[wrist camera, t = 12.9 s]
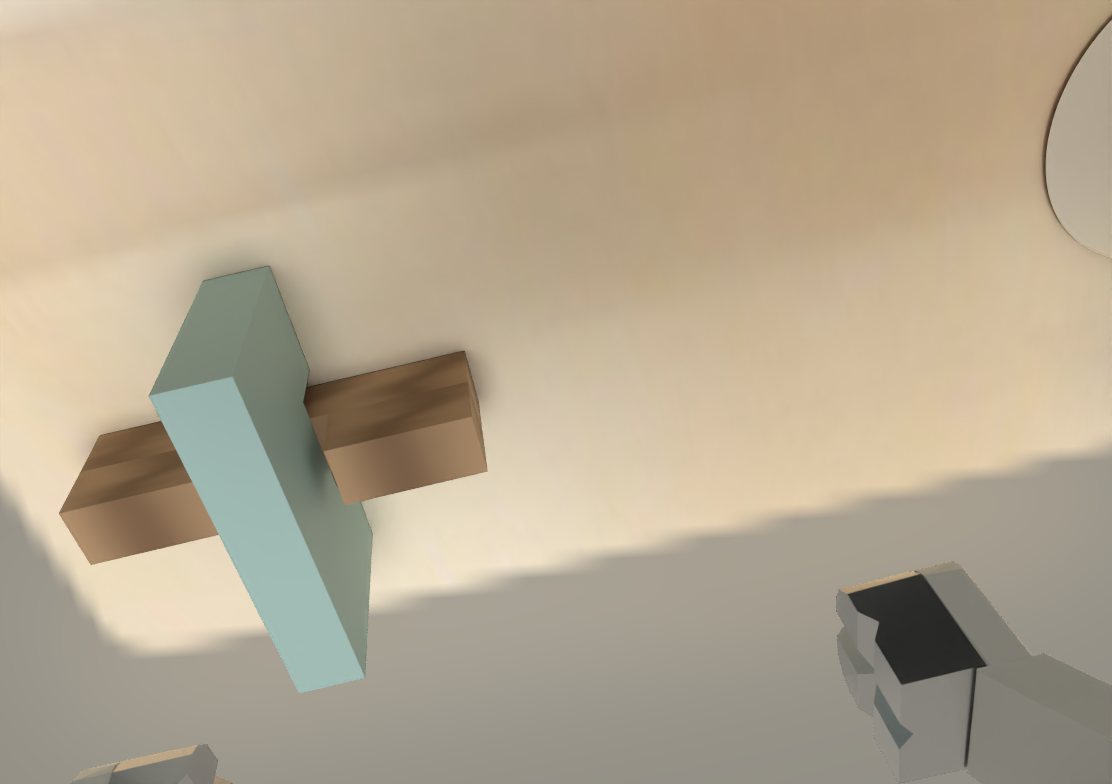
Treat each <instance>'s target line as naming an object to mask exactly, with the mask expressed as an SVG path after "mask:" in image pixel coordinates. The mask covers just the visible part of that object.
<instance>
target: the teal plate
mask: <svg viewBox="0 0 1112 784" xmlns="http://www.w3.org/2000/svg"><path fill="white" fill-rule="evenodd" d="M308 374H309V368H308V365H307V362H306V360H305V357H304V355H303V352H302V349H301V347H300V344H299V342H298V339H297V336H296V334H295V331H294V329H293V326H292V323H291V321H290V318H289V316H288V313H287V311H286V308H285V305H284V303H283V300H282V298H281V295H280V292H279V290H278V287H277V285H276V282H275V279H274V277H273V274H272V272H271V269H270V266H267V267H262V268H258V269H253V270H249V271H245V272H240V273H236V274H232V275H227V276H223V277H218V278H214V279H210V280H205V281H203V283H202V285H201V287H200V289H199V291H198V293H197V295H196V297H195V300H194V302H193V304H192V306H191V308H190V310H189V312H188V314H187V316H186V319H185V321H184V323H183V325H182V327H181V329H180V331H179V333H178V335H177V338H176V340H175V342H174V344H173V346H172V348H171V350H170V352H169V354H168V356H167V359H166V361H165V363H164V365H163V367H162V369H161V371H160V373H159V375H158V378H157V380H156V382H155V384H154V386H153V388H152V390H151V392H150V394H149V397H150V399H151V401H152V403H153V405H154V407H155V409H156V411H157V413H158V415H159V417H160V419H161V421H162V423H163V425H164V427H165V429H166V431H167V433H168V435H169V437H170V439H171V441H172V443H173V445H174V447H175V449H176V451H177V453H178V455H179V457H180V459H181V461H182V463H183V465H184V467H185V469H186V471H187V473H188V475H189V476H190V478H191V480H192V482H193V484H194V486H195V488H196V490H197V492H198V494H199V496H200V498H201V500H202V502H203V504H204V506H205V508H206V510H207V512H208V514H209V516H210V518H211V520H212V522H213V524H214V526H215V528H216V530H217V532H218V534H219V536H220V538H221V540H222V542H223V544H224V546H225V548H226V550H227V552H228V554H229V556H230V558H231V560H232V562H233V564H234V565H235V567H236V569H237V571H238V573H239V575H240V577H241V579H242V581H243V583H244V585H245V587H246V589H247V591H248V593H249V595H250V597H251V599H252V601H253V603H254V605H255V607H256V609H257V611H258V613H259V615H260V617H261V619H262V621H263V623H264V625H265V627H266V629H267V631H268V633H269V635H270V637H271V639H272V641H273V642H274V645H275V647H276V649H277V651H278V652H279V654H280V656H281V658H282V660H283V662H284V664H285V666H286V668H287V670H288V672H289V674H290V676H291V678H292V680H293V682H294V684H295V686H296V688H297V690H298V692H299V693H303V692H307V691H311V690H316V689H320V688H324V687H328V686H332V685H336V684H340V683H345V682H349V681H353V680H357V679H361V678H365V670H366V648H367V631H368V612H369V592H370V573H371V553H372V531H371V528H370V526H369V523H368V521H367V518H366V515H365V513H364V510H363V508H362V505H361V502H355V503H351V504H347V505H345V503H344V501H343V498H342V496H341V493H340V491H339V488H338V486H337V483H336V481H335V478H334V476H333V473H332V471H331V470H330V468H329V466H328V463H327V461H326V458H325V456H324V453H323V451H322V448H321V446H320V443H319V441H318V438H317V436H316V433H315V431H314V428H313V426H312V423H311V421H310V418H309V416H308V413H307V411H306V408H305V406H304V403H303V400H304V395H305V390H306V385H307V379H308Z"/></svg>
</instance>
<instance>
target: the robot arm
mask: <svg viewBox="0 0 1112 784" xmlns="http://www.w3.org/2000/svg"><path fill="white" fill-rule="evenodd" d="M1046 181H1047V188H1048V193H1049V197H1050V201H1051V204H1052V206H1053V209H1054V211H1055V213H1056V216H1057V218H1058V219H1059V221H1060V223H1061V224H1062V226H1063V227H1064V228H1065V230H1066V231H1067V232H1068V233H1069V234H1070V235H1071V236H1072V237H1073V238H1074V239H1075V240H1076V241H1078V242H1079V243H1080V244H1082V245H1083V246H1085V247H1086V248H1088V249H1090V250H1092V251H1094V252H1096V253H1098V254H1101V255H1103V256H1106V257H1108V258H1110V259H1112V20H1111V21H1110V22H1109V23H1108V24H1107V25H1106V27H1105V28H1104V29H1103V30H1102V31H1101V32H1100V34H1099V35H1098V36H1097V37H1096V39H1095V40H1094V41H1093V43H1092V44H1091V45H1090V47H1089V48H1088V50H1087V51H1086V53H1085V54H1084V55H1083V57H1082V58H1081V60H1080V62H1079V63H1078V65H1077V67H1076V68H1075V70H1074V72H1073V74H1072V75H1071V77H1070V79H1069V81H1068V83H1067V85H1066V87H1065V89H1064V91H1063V94H1062V96H1061V98H1060V101H1059V103H1058V106H1057V109H1056V112H1055V115H1054V118H1053V121H1052V125H1051V129H1050V133H1049V138H1048V144H1047V152H1046ZM836 612H837V613H838V615H839V617H840V619H841V620H842V622H843V624H844V627H843V628H842V630H841V631H840V632H839V634H838V635H837V645H838V656H839V660H840V664H841V668H842V672H843V675H844V678H845V681H846V683H847V686H848V688H849V691H850V693H851V695H852V697H853V699H854V701H855V703H856V705H857V707H858V708H859V709H860V710H862V711H864V712H866V713H867V714H869V715H871V716H872V717H874V739H875V741H876V742H877V745H878V746H879V748H880V750H881V752H882V754H883V756H884V758H885V759H886V761H887V763H888V765H889V767H890V769H891V771H892V772H893V774H894V776H895V778H896V780H897V782H898V783H899V784H900V783H905V782H910V781H914V780H919V779H923V778H928V777H933V776H937V775H942V774H946V773H951V772H956V771H960V770H964V769H967V773H968V774H969V775H971V776H972V777H973V778H975V779H976V780H978V781H979V782H980V783H982V784H1112V685H1110V684H1107V683H1105V682H1103V681H1101V680H1099V679H1097V678H1095V677H1093V676H1091V675H1089V674H1087V673H1085V672H1083V671H1081V670H1078V669H1076V668H1074V667H1072V666H1070V665H1068V664H1066V663H1064V662H1062V661H1060V660H1058V659H1056V658H1054V657H1052V656H1049V655H1047V654H1045V653H1041V654H1037V655H1032V654H1031V653H1030V652H1029V651H1028V649H1027V648H1026V647H1025V645H1024V644H1023V643H1022V642H1021V640H1020V639H1019V638H1018V637H1017V635H1016V634H1015V633H1014V632H1013V630H1012V629H1011V628H1010V627H1009V625H1008V624H1007V623H1006V621H1005V620H1004V619H1003V618H1002V616H1001V615H1000V614H999V613H998V611H997V610H996V609H995V607H994V606H993V605H992V604H991V602H990V601H989V600H988V599H987V597H986V596H985V595H984V594H983V592H982V591H981V590H980V588H979V587H978V586H977V585H976V583H975V582H974V581H973V580H972V578H971V577H970V576H969V575H968V573H966V571H965V570H964V568H963V567H962V566H961V565H959V564H958V563H956V562H954V561H952V562H948V563H944V564H940V565H935V566H931V567H928V568H923V569H920V570H915V571H914V572H912V571H909V572H905V573H901V574H898V575H894V576H890V577H886V578H882V579H878V580H874V581H870V582H866V583H862V584H858V585H854V586H850V587H847V588H842V589H839V590H838V593H837V596H836ZM217 764H218V759H217V758H216V756H215V755H214V753H213V752H212V750H211V749H210V748H209V746H208V745H207V744H203V745H195V746H190V747H186V748H181V749H177V750H171V751H167V752H162V753H158V754H153V755H149V756H143V757H139V758H134V759H129V760H125V761H121V762H118V763H113V764H109V765H104V766H100V767H95V768H91V769H86V770H82V771H81V772H80V773H79V774H78V775H77V777H76V778H75V779H74V780H73V781H72V783H71V784H232V782H230V781H227V780H225V779H223V778H221V777H218V776H216V775H215V774H216V769H217Z"/></svg>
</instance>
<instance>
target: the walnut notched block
mask: <svg viewBox="0 0 1112 784" xmlns="http://www.w3.org/2000/svg"><path fill="white" fill-rule="evenodd" d="M303 403H304V406H305V408H306V411H307V413H308V416H309V418H310V421H311V423H312V426H313V428H314V431H315V433H316V436H317V438H318V441H319V443H320V446H321V448H322V451H323V453H324V456H325V458H326V461H327V463H328V466H329V468H330V470H331V471H332V473H333V476H334V478H335V481H336V483H337V486H338V488H339V491H340V493H341V496H342V498H343V501H344V503H345V505H347V504H351V503H355V502H360V501H364V500H368V499H372V498H377V497H381V496H385V495H389V494H394V493H398V492H402V491H406V490H411V489H415V488H419V487H423V486H428V485H432V484H436V483H440V482H445V481H449V480H453V479H457V478H461V477H466V476H470V475H474V474H478V473H483V472H487V464H486V456H485V448H484V440H483V433H482V425H481V417H480V409H479V402H478V398H477V394H476V391H475V387H474V383H473V380H472V376H471V373H470V369H469V365H468V362H467V358H466V354H465V351H462V352H458V353H453V354H449V355H445V356H441V357H436V358H432V359H428V360H423V361H419V362H415V363H410V364H406V365H402V366H398V367H393V368H389V369H385V370H380V371H376V372H372V373H367V374H363V375H359V376H355V377H350V378H346V379H342V380H337V381H333V382H329V383H324V384H320V385H316V386H312V387H307V388H306V390H305V395H304V400H303ZM59 514H60V516H61V518H62V519H63V521H64V523H65V524H66V526H67V527H68V529H69V531H70V532H71V534H72V535H73V537H74V539H75V540H76V542H77V543H78V545H79V547H80V548H81V550H82V551H83V553H84V555H85V556H86V558H87V560H88V561H89V563H90V564H91V565H93V564H97V563H101V562H105V561H110V560H114V559H118V558H122V557H127V556H131V555H135V554H139V553H143V552H148V551H152V550H156V549H160V548H165V547H169V546H173V545H177V544H182V543H186V542H190V541H194V540H199V539H203V538H207V537H211V536H216V535H219V534H218V532H217V530H216V528H215V526H214V524H213V522H212V520H211V518H210V516H209V514H208V512H207V510H206V508H205V506H204V504H203V502H202V500H201V498H200V496H199V494H198V492H197V490H196V488H195V486H194V484H193V482H192V480H191V478H190V476H189V475H188V473H187V471H186V469H185V467H184V465H183V463H182V461H181V459H180V457H179V455H178V453H177V451H176V449H175V447H174V445H173V443H172V441H171V439H170V437H169V435H168V433H167V431H166V429H165V427H164V425H163V423H162V421H161V422H157V423H152V424H148V425H144V426H140V427H135V428H131V429H127V430H122V431H118V432H114V433H109V434H105V435H101V436H99V438H98V440H97V442H96V444H95V446H94V448H93V449H92V451H91V453H90V455H89V457H88V459H87V461H86V463H85V465H84V467H83V468H82V470H81V472H80V474H79V476H78V478H77V480H76V482H75V484H74V486H73V487H72V489H71V491H70V493H69V495H68V497H67V499H66V501H65V503H64V505H63V507H62V508H61V510H60V512H59Z"/></svg>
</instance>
